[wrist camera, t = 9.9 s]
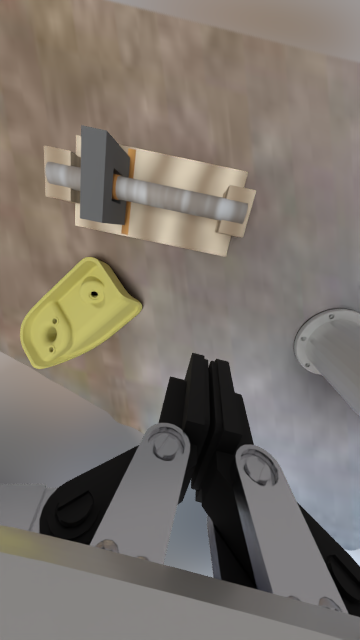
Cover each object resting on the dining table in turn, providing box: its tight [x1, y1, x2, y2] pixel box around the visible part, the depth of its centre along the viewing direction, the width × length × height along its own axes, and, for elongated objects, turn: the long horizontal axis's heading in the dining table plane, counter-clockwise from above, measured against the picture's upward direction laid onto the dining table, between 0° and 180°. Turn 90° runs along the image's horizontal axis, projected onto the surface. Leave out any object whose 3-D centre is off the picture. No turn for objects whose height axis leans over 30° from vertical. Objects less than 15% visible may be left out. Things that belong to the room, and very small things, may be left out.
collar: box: [80, 125, 130, 225], centre depth 26 cm, size 2×8×8 cm, turn 169°
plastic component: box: [20, 257, 142, 369], centre depth 38 cm, size 20×7×10 cm
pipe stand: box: [44, 135, 256, 257], centre depth 28 cm, size 24×11×8 cm, turn 79°
